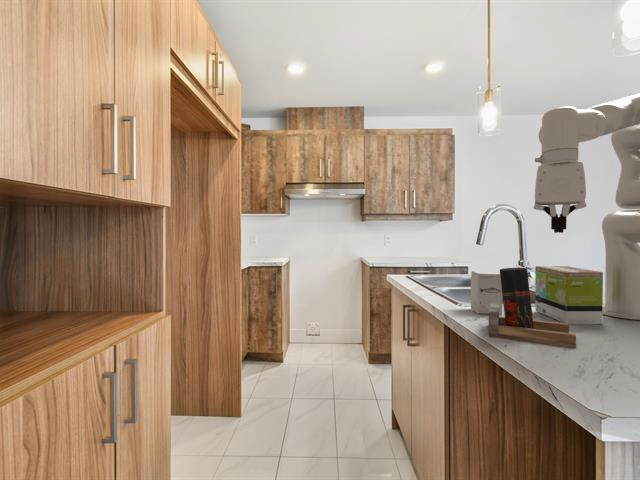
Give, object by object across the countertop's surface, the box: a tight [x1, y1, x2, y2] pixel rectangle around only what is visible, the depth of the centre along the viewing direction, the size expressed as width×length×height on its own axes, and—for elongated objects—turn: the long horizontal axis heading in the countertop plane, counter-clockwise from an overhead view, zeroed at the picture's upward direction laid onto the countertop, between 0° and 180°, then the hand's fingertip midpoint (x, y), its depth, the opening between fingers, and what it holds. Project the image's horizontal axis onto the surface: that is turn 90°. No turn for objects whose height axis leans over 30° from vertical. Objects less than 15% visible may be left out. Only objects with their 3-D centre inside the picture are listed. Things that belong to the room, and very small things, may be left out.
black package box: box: [499, 267, 534, 329], centre depth 83 cm, size 6×6×15 cm
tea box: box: [534, 265, 604, 325], centre depth 98 cm, size 15×10×15 cm, turn 177°
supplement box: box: [470, 270, 503, 316], centre depth 106 cm, size 7×7×13 cm
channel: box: [488, 303, 577, 349], centre depth 82 cm, size 12×17×6 cm
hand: (558, 232), depth 84 cm, fingers closed
